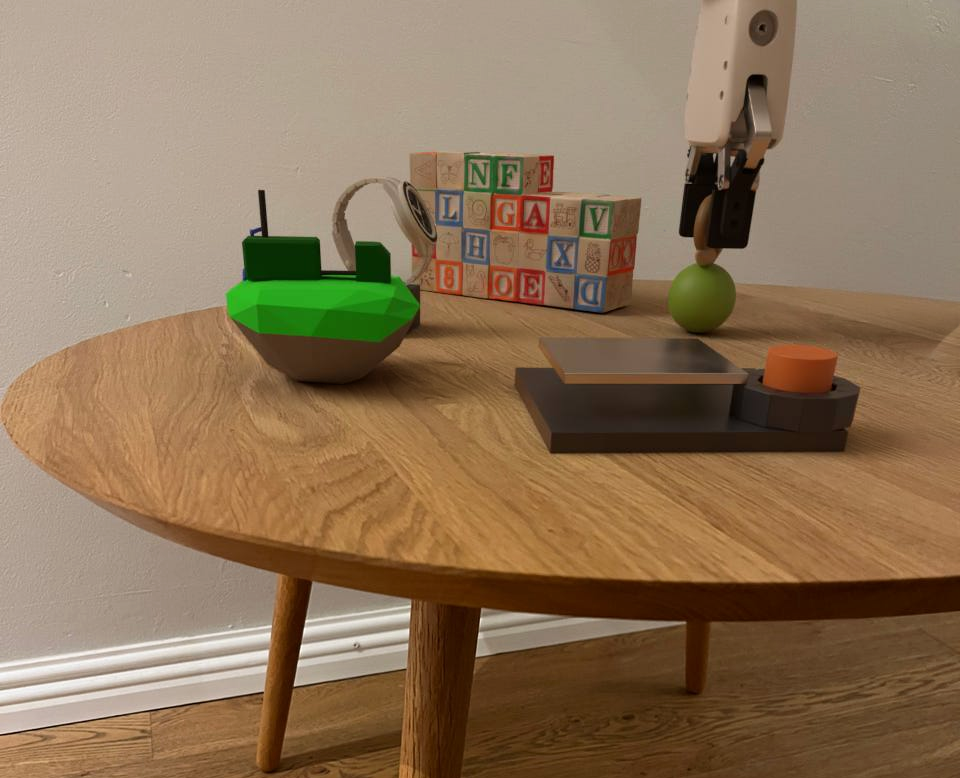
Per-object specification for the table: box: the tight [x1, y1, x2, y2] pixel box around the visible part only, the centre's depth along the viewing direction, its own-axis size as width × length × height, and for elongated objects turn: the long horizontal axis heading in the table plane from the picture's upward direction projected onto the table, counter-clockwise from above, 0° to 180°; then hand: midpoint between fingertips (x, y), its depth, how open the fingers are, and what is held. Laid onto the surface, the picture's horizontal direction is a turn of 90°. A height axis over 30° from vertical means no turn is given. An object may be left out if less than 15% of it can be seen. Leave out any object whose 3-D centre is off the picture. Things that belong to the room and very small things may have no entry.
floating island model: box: [225, 189, 421, 385], centre depth 58 cm, size 12×12×11 cm
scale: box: [514, 367, 861, 455], centre depth 54 cm, size 17×14×3 cm
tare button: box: [762, 344, 839, 393], centre depth 50 cm, size 4×4×2 cm
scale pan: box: [538, 336, 749, 385], centre depth 53 cm, size 10×9×1 cm
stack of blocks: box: [408, 150, 642, 314], centre depth 87 cm, size 21×6×12 cm, turn 58°
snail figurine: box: [667, 194, 737, 334], centre depth 75 cm, size 5×6×12 cm
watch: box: [331, 176, 437, 336], centre depth 72 cm, size 6×8×11 cm
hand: (711, 240), depth 74 cm, fingers open, 6 cm apart
